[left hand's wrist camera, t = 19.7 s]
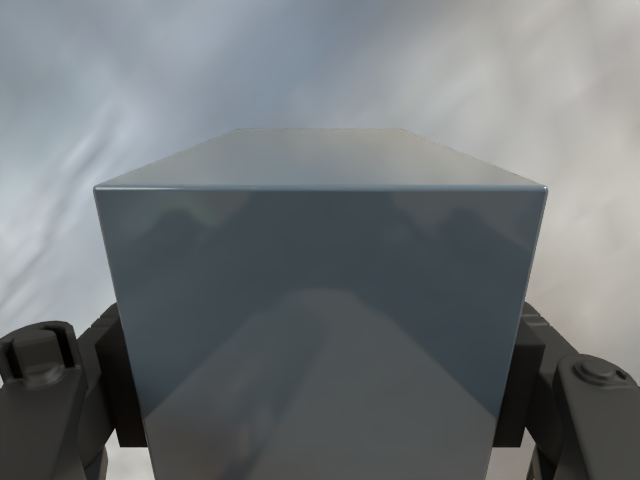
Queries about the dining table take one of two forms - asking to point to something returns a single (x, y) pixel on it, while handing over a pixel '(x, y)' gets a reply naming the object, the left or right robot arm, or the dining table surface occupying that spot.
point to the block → (320, 303)
